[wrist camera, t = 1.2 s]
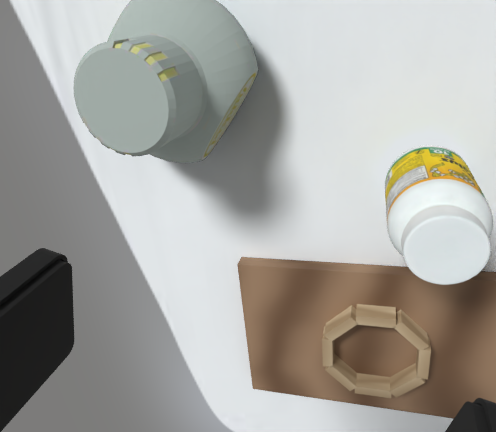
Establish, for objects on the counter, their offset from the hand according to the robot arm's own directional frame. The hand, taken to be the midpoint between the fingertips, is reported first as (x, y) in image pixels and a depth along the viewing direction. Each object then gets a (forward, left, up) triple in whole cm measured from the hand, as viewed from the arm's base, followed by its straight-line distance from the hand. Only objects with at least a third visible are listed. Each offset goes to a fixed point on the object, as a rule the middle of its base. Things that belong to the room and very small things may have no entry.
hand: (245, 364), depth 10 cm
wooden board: (-3, +18, -23) cm, 29 cm away
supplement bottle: (-6, +4, -23) cm, 24 cm away
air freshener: (+10, -4, -23) cm, 25 cm away
